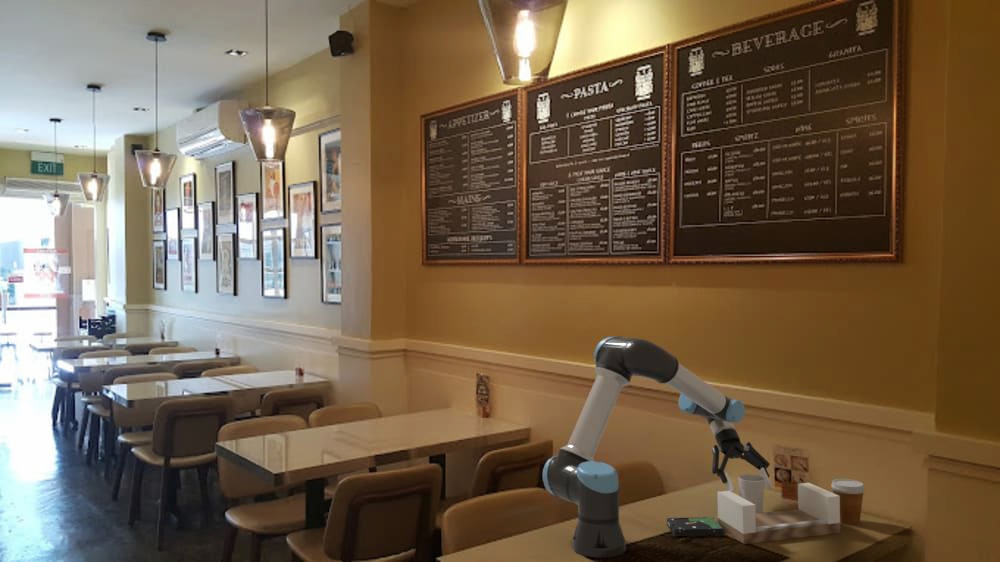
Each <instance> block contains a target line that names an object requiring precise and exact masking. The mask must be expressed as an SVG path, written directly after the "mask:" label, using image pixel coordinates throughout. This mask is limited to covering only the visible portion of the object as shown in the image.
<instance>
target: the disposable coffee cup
mask: <svg viewBox="0 0 1000 562" xmlns="http://www.w3.org/2000/svg"><path fill="white" fill-rule="evenodd" d="M830 487H831V489H832V493H834V494H836V495H838V496H840V524H845V525H850V526H851V525H852V526H853V525H854V526H855V525H859V524H860V523H861V515H862V507H863V501H864V500H863V497H864V493H865V490H866V488H865V487H864V483H863V482H861V481H859V480H856V479H849V478H837V479H833V480H832V481H831V484H830Z"/></svg>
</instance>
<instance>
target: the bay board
mask: <svg viewBox="0 0 1000 562" xmlns="http://www.w3.org/2000/svg"><path fill="white" fill-rule="evenodd" d="M755 515H756V532H755V533H747V534H743V533H741V532H740V531H738V530H737V529H735V528H733V527H732V526H730V525H729V524H727V523H725V522H724V521H722V520H721V519H719V518H718V517H717V522H718V523H719V524H720V525H721V526H722V527H723V530H724V533H725V534H727V535H729V536H731V537H732V538H733V539H735V540H737V542H739V541H740V542H739V543H740V544H742V543H743V545H749V543H750V544H757V543H765V542H767V543H768V542H773V541H782V540H791V539H793V540H794V539H798V538H801V539H802V538H807V537H808V538H809V537H816V536H825V535H834V534H835V535H836V534H840V533H841V522H840V523H834V524H827V521H826V520H824V519H821V520H819V519H817V518H815V517H813V516H811V515H809V514H807V513H805V512H803V511H801V510H799V509H798V508H797V509H796V508H795V509H787V510H777V511H767V512H763V513H757V514H755Z"/></svg>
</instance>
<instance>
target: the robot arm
mask: <svg viewBox="0 0 1000 562" xmlns="http://www.w3.org/2000/svg"><path fill="white" fill-rule="evenodd" d="M593 358H594V360H593V361H594V363H595V367H594V371H595V374H596V378H595V381H594V382H593V384H592V387H591V389H590V391H589V394H588V396H587V398H586V400H585V402H584V405H583V408H582V410H581V412H580V414H579V417H578V419H577V422H576V424H575V427H574V428H573V431H572V434H571V435H570V438H569V440H568V443H567V444H566V445H564V446H562V447H560V448H559V451H558V453H557V455H555V456H552V457H551V458H549V459H547V461H546V463H544V465H543V466H544V467H543V469H542V481H543V485H544V487H545V489H546V490H547V492H549V493H550V494H552V495H553V496H555V497H557V498H558V499H562V500H565V501H566V502H570V503H572V504H574V505H577V517H578V518H577V519H578V520H577V523H576V527H575V531H574V534H573V537H572V549H573V550H574V551H575V552H576V553H578V554H579V555H582V556H585V557H590V558H597V559H598V558H599V559H603V558H604V559H605V558H613V557H617V556H620V555H622V554H624V552H626V549H627V546H626V545H627V541H626V538H625V536H624V533H623V529H622V526H621V523H620V504H619V503H620V488H619V487H620V482H619V475H618V471H617V470H616V468H614V466H612V465H610V464H608V463H605V462H601V461H600V462H598V461H595V460H594V455H595V453H596V450H597V448H598V446H599V444H600V441H601V439H602V437H603V434H604V431H605V429H606V428H607V425H608V422H609V419H610V418H611V416H612V413H613V410H614V408H615V405H616V403H617V400H618V399H619V395H620V393H621V390H622V388H623V387H626V386H629V385H630V382H631V379H632V377H633V376H635V377H641V378H646V379H651V380H653V381H655V382H656V383H658V384H662V385H664V384H665V385H667V386H669V387H670V388H671V389H674V390H675V391H676V392H678V393H680V395H679V398H678V407H679V409H680V410H681V411H682V412H684V413H686V414H688V415H693V416H697V417H699V418H700V417H701V418H703V419H706V422H707V423H708V424H709V425H708V426H709V427H710V430H711V431H712V434H713V436H714V438H715V442H716V443H717V445H716V444H714V445H713V447H712V448H711V452H712V465H711V473H712V474H713V475H715V474H716V476H717V477H719V478H720V480H721V482H722V484H725V486H726V489H727V491H731V492H733V493H734V491H735V486H734V484H733V482H732V480H731V478H730V475H729V472H728V471H727V470H726V471H725V469H726V467H727V466H726V465H727V463H728V461H729V459H730V460H734V459H741V460H744V461H745V462H747V463H749V464H750V465H751V466H753V467H754V468H755V469H757V470H758V474H759V476H761V477H763V478H764V479H765V481H764V488H766V490H767V491H769V490H770V489H771V488H772V487H773V484H772V482H771V480H770V474H769V472H768V467H769V466H770V464H771V463H770V462H769V461H768V460H767V459H765V457H764V456H762V455H761V453H759V452H758V451H757V450H756V449H755V448H754V447H753V445H752V444H751V442H749V441H748V442H747V443H745V444H743V443H742V442H741V439H740V436H739V434H738V432H737V430H736V427H735V425H734V423H735V424H736V423H740V422H741V421H742V420H743V418H744V417H745V412H746V409H745V405H744V402H742V401H741V400H739V399H736V398H730V397H728V396H727V395H726V394H723V393H722V392H721V391H719V390H718V389H717V388H715V387H713V386H712V385H710V384H709V383H707V381H706V380H705V381H704V380H703V379H701V378H700V377H699V376H698V375H696V374H694V373H693V372H692V371H690V370H689V369H687V368H686V367H685V366H683V365H682V364H680V361H679V359H678V357H676V356H674V354H672V353H671V352H669V351H668V350H666V349H664V348H663V347H661V346H660V345H658V344H656V343H654V342H652V341H650V340H648V339H644V338H637V337H636V338H635V337H623V336H619V335H615V336H608V337H605V338H603V339H602V340H600V341H599V342H598V343H597V345H596V347H595V349H594V353H593ZM720 452H721V453H722V454H724V456H723V458H722V461H721V463H720V461H719V460H720ZM719 463H720V465H719Z"/></svg>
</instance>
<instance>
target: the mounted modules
mask: <svg viewBox="0 0 1000 562" xmlns="http://www.w3.org/2000/svg"><path fill="white" fill-rule="evenodd" d="M716 493H717V495H716V496H717V498H716V499H717V519H718V518H719V519H721V520H722V521H724V522H725V523H727V524H729V525H730V526H732V527H733V528H735V529H737V530H738V531H740V532H741V533H743V534H747V533H755V532H756V515H755V504H753V503H751V502H749V501H747V500H746V499H744V498H742V497H740V495H739V494H736V493H735V492H734V491H733V492H731V491H728V490H723V491H722V490H721V491H717V492H716ZM797 501H798V502H797V503H798V506H797V509H799V510H801V511H803V512H805V513H807V514H809V515H811V516H813V517H815V518H817V519H819V520H821V519H824V520H826V521H827V524H834V523H840V524H841V522H840V496H838V495H836V494H834V493H833V491H832V492H831V491H829V490H827V489H824V488H822V487H820V486H817V485H815V484H813V483H810V482H803V483H801V482H800V483H797Z"/></svg>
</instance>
